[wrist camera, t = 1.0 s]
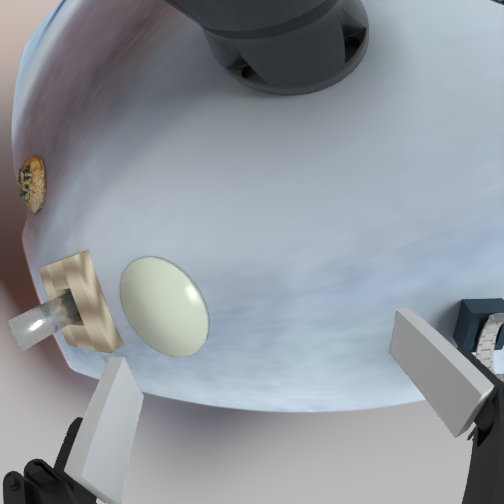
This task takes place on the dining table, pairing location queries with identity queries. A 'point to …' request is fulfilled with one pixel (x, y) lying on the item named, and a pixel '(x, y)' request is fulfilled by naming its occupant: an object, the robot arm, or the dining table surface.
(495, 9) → the dining table surface
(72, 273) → the holder block
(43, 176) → the bread roll
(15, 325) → the canister
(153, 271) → the coaster
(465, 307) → the watch
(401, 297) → the dining table surface
